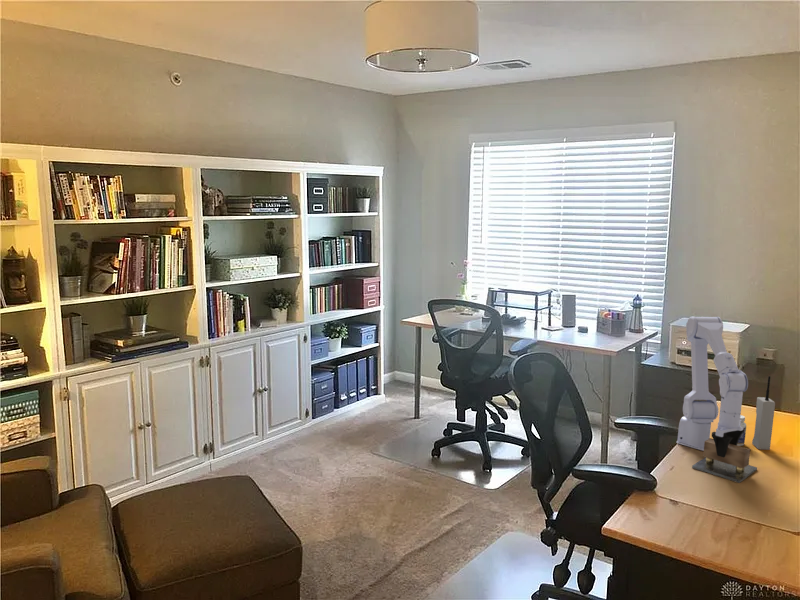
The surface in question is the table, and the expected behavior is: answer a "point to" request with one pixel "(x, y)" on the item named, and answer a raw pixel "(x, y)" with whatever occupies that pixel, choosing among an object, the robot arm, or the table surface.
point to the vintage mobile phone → (764, 421)
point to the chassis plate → (724, 469)
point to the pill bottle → (742, 438)
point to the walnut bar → (728, 454)
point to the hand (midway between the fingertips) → (726, 453)
